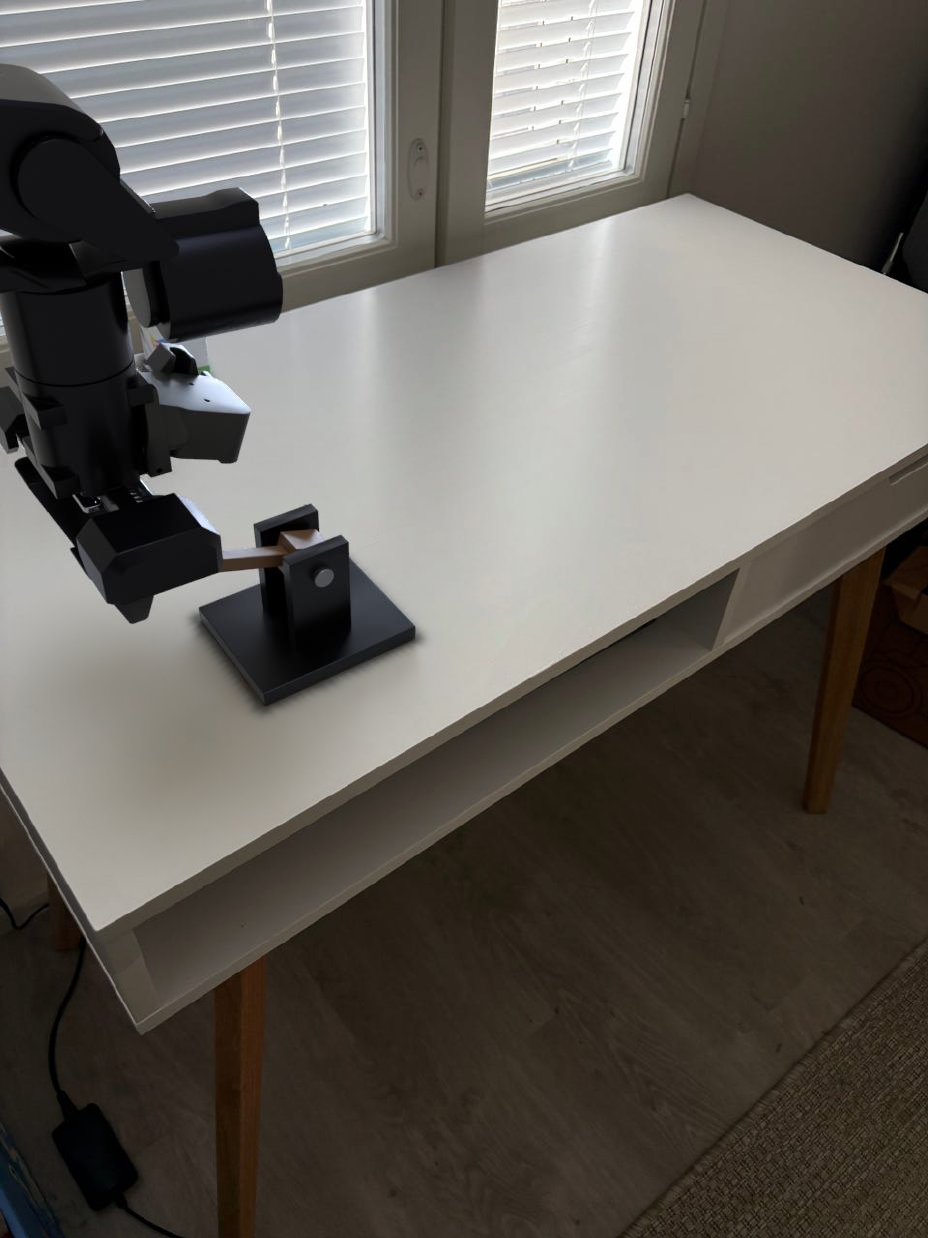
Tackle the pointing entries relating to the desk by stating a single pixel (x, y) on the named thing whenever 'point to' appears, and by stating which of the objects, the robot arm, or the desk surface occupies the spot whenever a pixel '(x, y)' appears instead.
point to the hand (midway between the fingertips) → (120, 594)
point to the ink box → (194, 347)
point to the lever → (269, 551)
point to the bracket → (304, 614)
